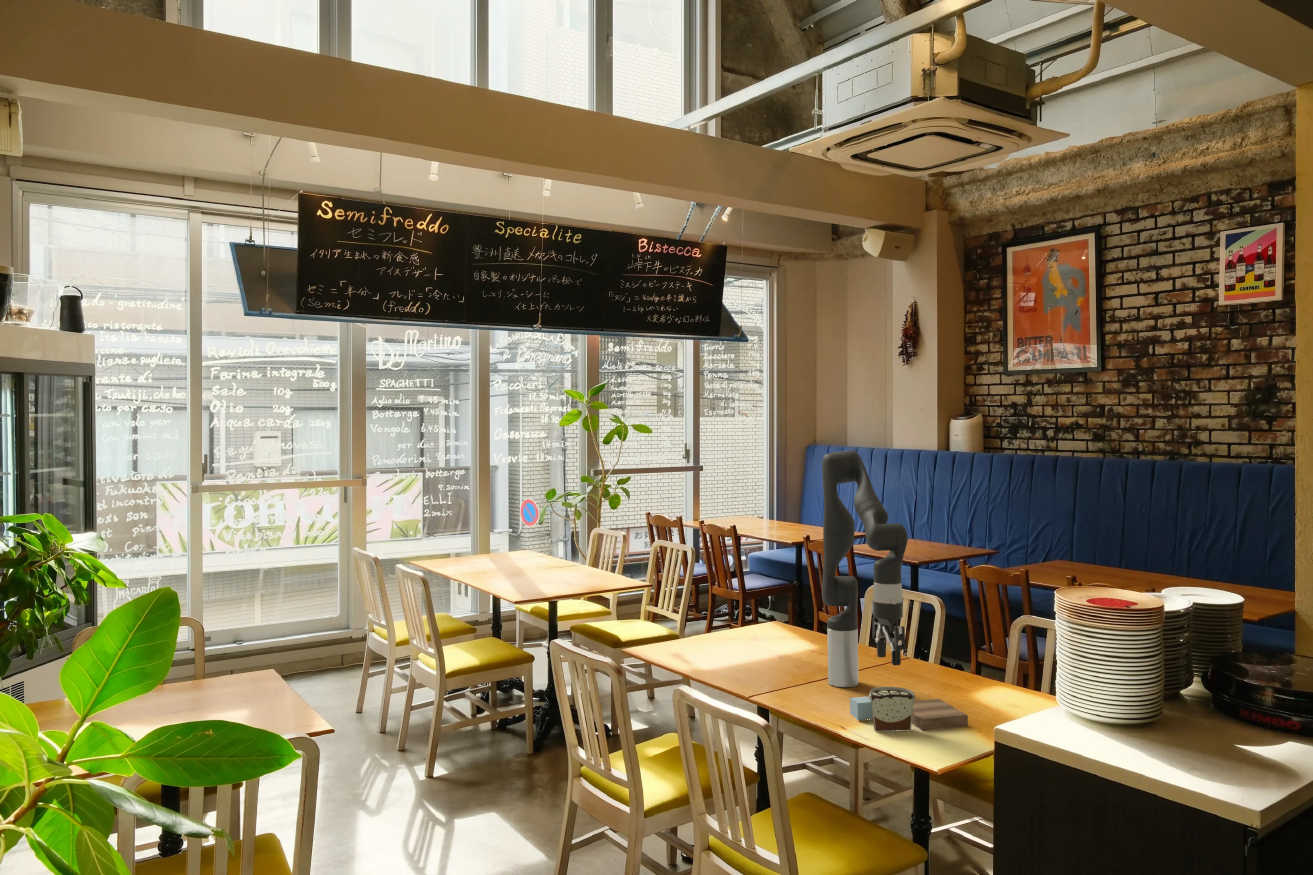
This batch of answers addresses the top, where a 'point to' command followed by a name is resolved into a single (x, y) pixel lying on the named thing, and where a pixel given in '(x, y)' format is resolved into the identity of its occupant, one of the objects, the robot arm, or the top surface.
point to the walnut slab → (937, 715)
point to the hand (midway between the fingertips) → (888, 661)
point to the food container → (891, 708)
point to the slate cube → (861, 708)
